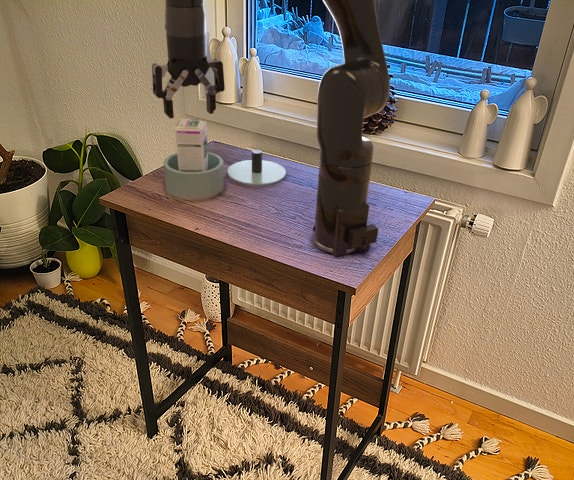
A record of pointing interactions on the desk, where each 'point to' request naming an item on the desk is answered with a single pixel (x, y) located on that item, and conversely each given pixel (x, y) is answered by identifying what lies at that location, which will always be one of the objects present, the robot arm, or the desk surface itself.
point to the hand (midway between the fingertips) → (190, 114)
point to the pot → (194, 179)
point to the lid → (256, 171)
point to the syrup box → (192, 145)
